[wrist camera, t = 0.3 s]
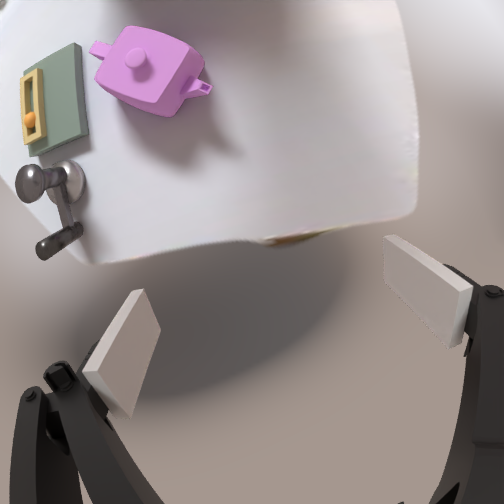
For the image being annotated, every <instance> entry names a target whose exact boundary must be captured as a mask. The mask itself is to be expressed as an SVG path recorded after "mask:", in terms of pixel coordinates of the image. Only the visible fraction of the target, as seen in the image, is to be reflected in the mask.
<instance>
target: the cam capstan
mask: <svg viewBox="0 0 504 504" xmlns="http://www.w3.org/2000/svg"><path fill="white" fill-rule="evenodd" d="M15 187H16V192H17V195H18V197H19V198H20V200H21V201H23V202H24V203H32V202H34V201H37V200H39V199H40V198H41V196H42V195H43V193H44V191H45V190H46V192H47V194H48V196H49V198H50V200H51V201H52V202H53V203H55V204H56V205H57V207H58V211H59V215H60V219H61V222H62V226H63V229H61V230H59V231H57V232H55V233H54V234H52V235H50V236H48V237H47V238H45V239H43V240H42V241H40V242H38V243H37V245H36V254H37V256H38V257H39V258H40V259H41V260H44V261H45V260H47V259H49V258H50V257H52V256H53V255H54V254H56V253H57V252H59V251H60V250H62V249H63V248H65V247H66V246H68V245H69V244H71V243H72V242H74V241H75V240H77V239H78V238H80V237H81V236H82V235H83V227H82V225H81V224H80V223H78V222H74V221H73V218H72V214H71V210H70V206H69V204H71V203H74V202H76V201H77V200H78V199H79V198H80V197H81V195H82V193H83V191H84V187H85V177H84V173H83V170H82V168H81V167H80V166H79V165H78V164H77V163H76V162H74V161H71V160H65V161H59V162H56V163H55V164H53V165H52V166H51V168H48V169H43V170H42V169H41V168H40V167H39V166H38V165H36V164H30V165H25V166H23V167H22V168H21V169H20V170H19V171H18V173H17V176H16V181H15Z"/></svg>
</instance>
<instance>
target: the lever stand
mask: <svg viewBox="0 0 504 504" xmlns="http://www.w3.org/2000/svg"><path fill="white" fill-rule="evenodd" d="M20 102H21V119H22V130H23V139H24V145H28V149H29V156H30V157H34V156H39V155H41V154H44V153H46V152H48V151H50V150H52V149H54V148H57V147H59V146H61V145H63V144H66V143H68V142H70V141H73V140H75V139H78V138H80V137H82V136H85V135H88V134H89V131H88V124H87V116H86V108H85V99H84V88H83V75H82V55H81V46H80V45H78V44H76V43H72V44H70V45H68V46H66V47H64V48H62V49H60V50H59V51H57V52H55V53H53V54H51V55H50V56H48V57H46V58H44V59H43V60H41V61H39V62H38V63H36V64H34V65H33V66H31V67H30V68H28V69H27V70H25V71H24V76H23V77H22V78H20Z"/></svg>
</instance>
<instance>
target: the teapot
mask: <svg viewBox="0 0 504 504" xmlns="http://www.w3.org/2000/svg"><path fill="white" fill-rule="evenodd" d="M89 53H90V54H92V55H94V56H95V57H97V58H98V59H100V60H102V61H103V62H102V64H101V65H100V67H99V69H98V71H97V73H96V75H95V78H94V79H95V81H96V82H97V83H98V84H99V85H100V86H101V87H102V88H103V89H104V90H106V91H107V92H109V93H110V94H112V95H113V96H115V97H117V98H118V99H120V100H122V101H124V102H125V103H127V104H129V105H132V106H134V107H136V108H138V109H141V110H144V111H146V112H150V113H153V114H156V115H160V116H164V117H172V116H174V115H175V114H176V112H177V111H178V109H179V108H180V106H181V105H182V103H183V102H184V100H185V98H186V99H187V98H192V97H198V96H203V95H208V94H209V92H210V91H211V89H212V87H213V86H212V85H210V84H207V83H205V82H203V81H201V80H199V79H197V78H198V77H199V75H200V73H201V71H202V69H203V67H204V65H205V63H204V60H203V58H202V56H201V55H200V54H199V53H198V52H197V51H196V50H195V49H193V48H192V47H191V46H190V45H188V44H186V43H185V42H183V41H181V40H179V39H176V38H174V37H172V36H169V35H167V34H164V33H161V32H158V31H155V30H151V29H147V28H143V27H138V26H126V27H125V28H124V30H123V31H122V32H121V33H120V35H119V36H118V38H117V39H116V41H115V42H114V44H113V45H108V44H105V43H102V42H98V41H95V43H94V44H93V46H92V48H91V49H90V51H89Z"/></svg>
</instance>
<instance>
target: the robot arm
mask: <svg viewBox="0 0 504 504" xmlns="http://www.w3.org/2000/svg"><path fill="white" fill-rule="evenodd" d="M383 255H384V282H385V283H386V284H387V285H388V286H389V287H390V288H391V289H392V290H393V291H394V292H395V293H396V294H397V295H398V296H399V297H400V298H401V299H402V300H403V301H404V302H405V303H406V304H407V305H408V306H409V307H410V308H411V309H412V311H413V312H414V313H415V314H416V315H417V316H418V317H419V318H420V319H421V320H422V321H423V322H424V323H425V324H426V325H427V327H428V328H429V329H430V330H431V331H432V332H433V333H434V334H435V335H436V336H437V337H438V339H439V340H440V341H441V342H442V343H443V344H444V345H445V346H446V348H447V349H450V348H452V347H454V346H456V345H458V344H460V343H461V342H462V338H463V334H464V332H466V333H467V334H468V335H469V339H468V343H467V346H466V350H465V353H464V357H466V368H465V376H464V384H463V392H462V398H461V404H460V409H459V415H458V419H457V424H456V429H455V433H454V437H453V441H452V445H451V449H450V452H449V456H448V459H447V463H446V466H445V469H444V472H443V475H442V478H441V481H440V483H439V486H438V487H437V489H436V491H435V492H434V494H433V496H432V498H431V500H430V502H429V504H504V290H503V289H502V288H500V287H498V286H494V285H486V286H483V287H482V286H480V285H479V284H477V283H476V282H474V281H473V280H472V279H470V278H469V277H467V276H465V275H464V274H463V273H461V272H460V271H458V270H457V269H455V268H454V267H452V266H449V265H446V264H441V263H439V262H438V261H436V260H435V259H433V258H432V257H430V256H429V255H427V254H426V253H424V252H423V251H421V250H420V249H418V248H416V247H415V246H413V245H412V244H410V243H408V242H406V241H405V240H404V239H402V238H400V237H399V236H397V235H395V234H392V235H387V236H383ZM160 331H161V329H160V327H159V324H158V322H157V320H156V317H155V315H154V313H153V310H152V308H151V305H150V303H149V300H148V298H147V295H146V293H145V290H144V289H140V290H135V291H132V292H131V293H130V295H129V296H128V298H127V299H126V301H125V302H124V304H123V305H122V307H121V308H120V310H119V311H118V313H117V314H116V316H115V318H114V319H113V321H112V322H111V324H110V326H109V327H108V329H107V330H106V332H105V333H104V335H103V337H102V338H101V340H98V341H97V342H96V343H95V344H94V345H93V346H92V347H91V349H90V351H89V352H88V355H87V356H86V357H85V360H84V361H83V362H82V364H81V366H80V367H79V369H78V371H77V372H76V374H75V373H74V371H73V370H72V368H71V367H70V365H69V364H68V363H67V362H66V361H59V362H56V363H54V364H52V365H51V366H49V368H48V369H47V370H46V371H45V373H44V376H43V378H44V379H45V381H46V382H47V384H48V385H49V386H50V388H51V389H52V391H53V392H52V393H48V394H45V393H44V392H43V391H42V390H41V388H40V387H38V386H35V387H31V388H28V389H27V390H26V391H24V393H23V395H22V396H21V399H20V403H19V409H18V413H17V419H16V425H15V431H14V438H13V447H12V456H11V468H10V504H83V500H82V495H81V489H80V482H79V475H78V471H79V473H80V476H81V478H82V481H83V483H84V485H85V488H86V490H87V492H88V494H89V497H90V499H91V501H92V503H93V504H164V503H163V501H162V500H161V499H160V497H159V496H158V495H157V493H156V492H155V491H154V490H153V488H152V487H151V485H150V484H149V483H148V481H147V480H146V478H145V477H144V476H143V474H142V473H141V471H140V470H139V468H138V467H137V465H136V464H135V462H134V461H133V459H132V458H131V456H130V454H129V453H128V451H127V450H126V448H125V446H124V445H123V443H122V441H121V440H120V438H119V436H118V434H117V433H116V431H115V429H114V427H113V425H112V424H111V422H110V420H109V419H108V418H107V417H106V415H107V413H108V410H109V411H110V412H111V413H112V414H113V416H114V417H115V418H116V419H130V418H131V416H132V413H133V410H134V407H135V404H136V401H137V398H138V394H139V391H140V388H141V385H142V382H143V380H144V377H145V374H146V371H147V368H148V365H149V362H150V359H151V356H152V353H153V351H154V348H155V345H156V342H157V340H158V337H159V334H160ZM466 355H467V356H466ZM398 504H404V502H401V503H398Z"/></svg>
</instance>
